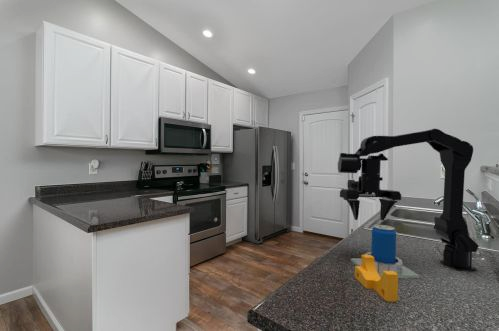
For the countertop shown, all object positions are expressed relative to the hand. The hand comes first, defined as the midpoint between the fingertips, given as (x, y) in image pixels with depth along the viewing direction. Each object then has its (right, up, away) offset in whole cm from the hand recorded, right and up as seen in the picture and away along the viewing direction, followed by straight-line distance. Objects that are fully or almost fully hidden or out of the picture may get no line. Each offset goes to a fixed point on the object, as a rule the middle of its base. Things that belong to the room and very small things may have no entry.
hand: (369, 220), depth 81 cm
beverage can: (0, -13, -8) cm, 15 cm away
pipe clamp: (-8, -13, -20) cm, 25 cm away
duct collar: (0, -13, -8) cm, 15 cm away
